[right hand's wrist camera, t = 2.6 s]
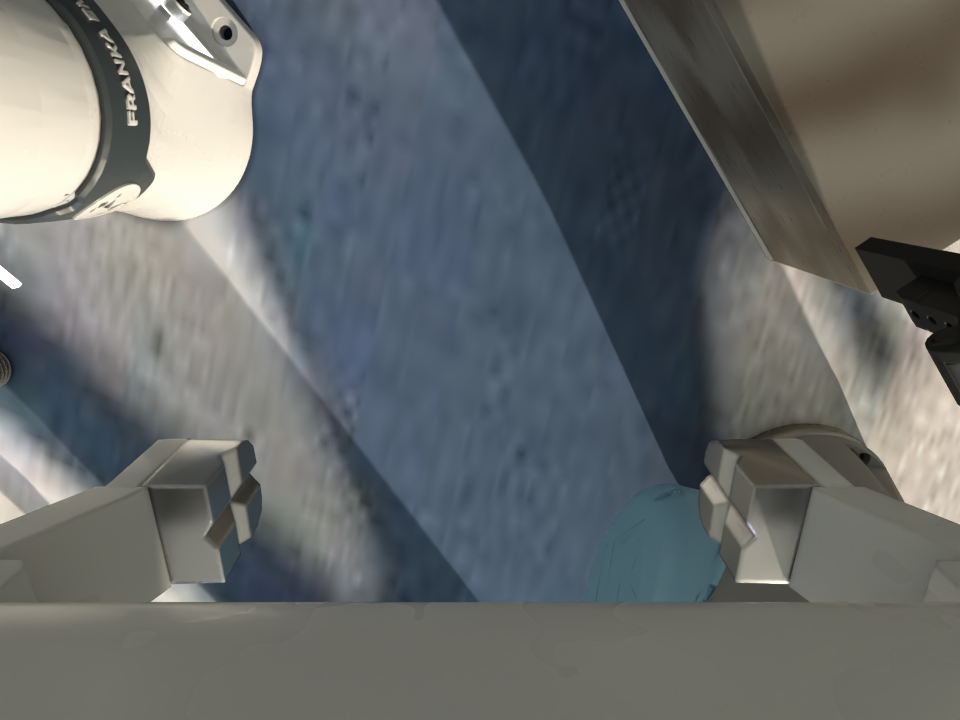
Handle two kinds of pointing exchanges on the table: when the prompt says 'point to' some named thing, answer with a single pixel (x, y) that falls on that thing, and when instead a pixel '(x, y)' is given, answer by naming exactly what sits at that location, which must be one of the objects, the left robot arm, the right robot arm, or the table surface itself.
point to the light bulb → (4, 369)
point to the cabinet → (821, 118)
